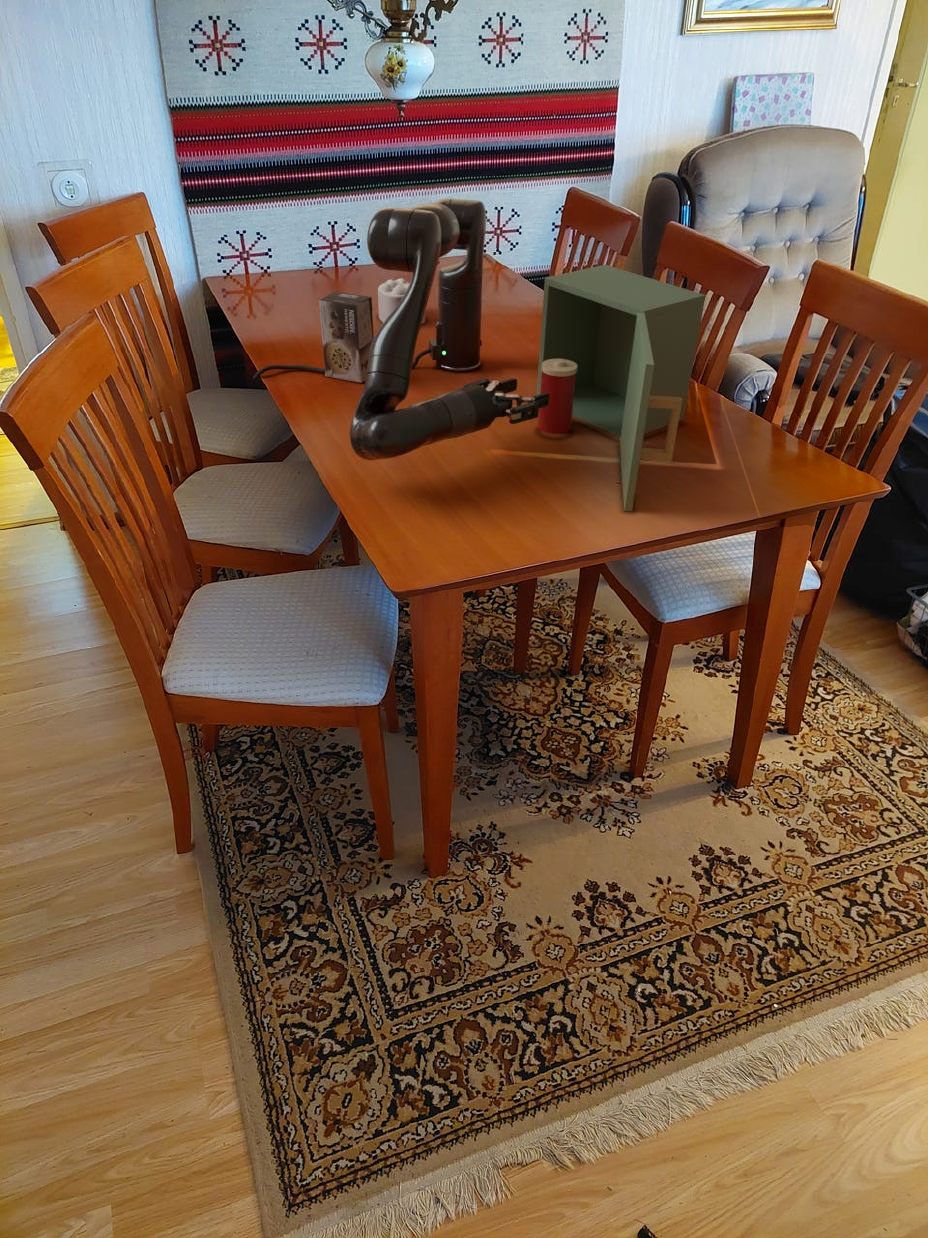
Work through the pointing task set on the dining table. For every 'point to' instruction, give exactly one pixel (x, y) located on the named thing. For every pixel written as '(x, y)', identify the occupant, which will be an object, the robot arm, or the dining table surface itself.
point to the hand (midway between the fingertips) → (531, 391)
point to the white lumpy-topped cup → (391, 297)
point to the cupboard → (619, 339)
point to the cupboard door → (642, 414)
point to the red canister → (557, 395)
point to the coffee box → (346, 335)
